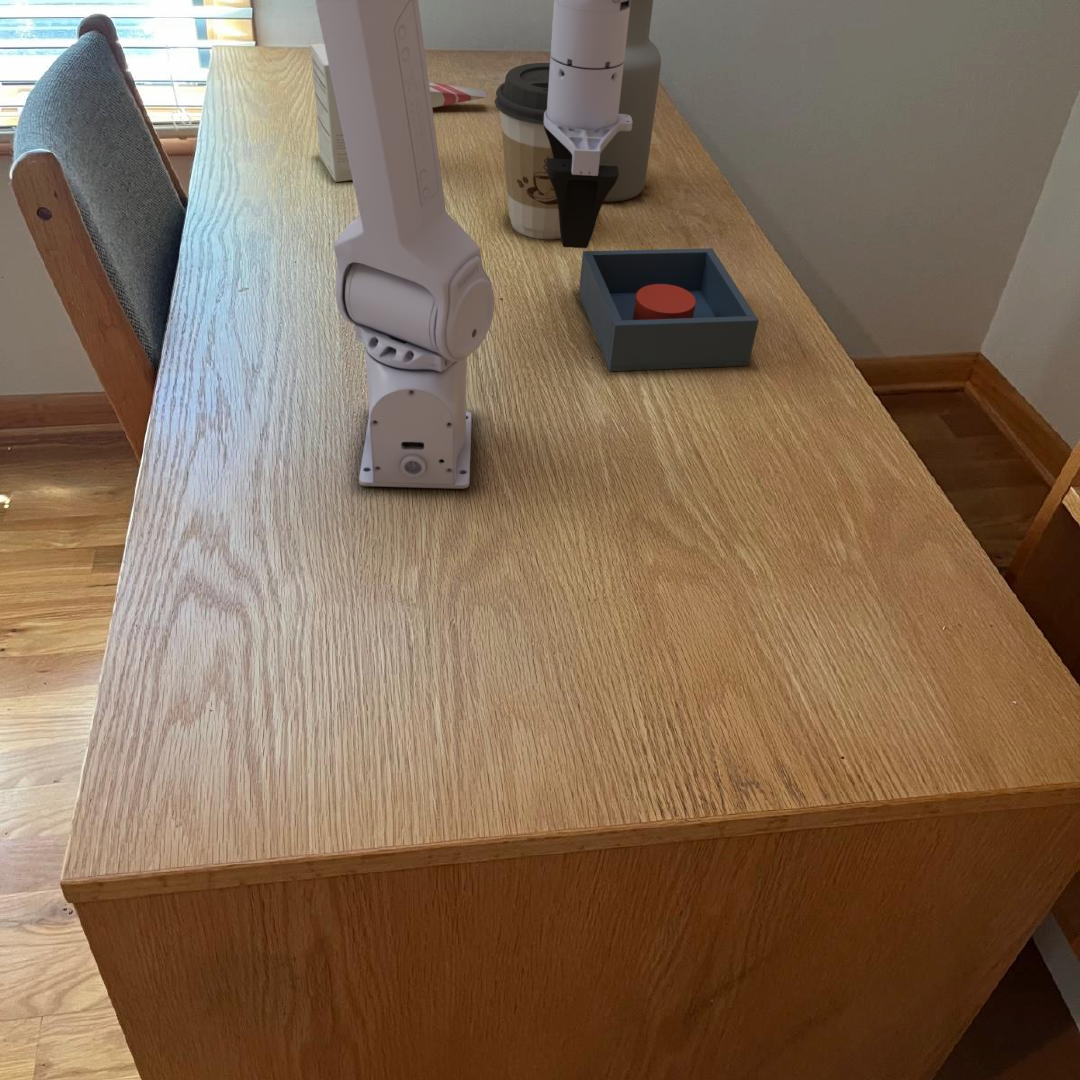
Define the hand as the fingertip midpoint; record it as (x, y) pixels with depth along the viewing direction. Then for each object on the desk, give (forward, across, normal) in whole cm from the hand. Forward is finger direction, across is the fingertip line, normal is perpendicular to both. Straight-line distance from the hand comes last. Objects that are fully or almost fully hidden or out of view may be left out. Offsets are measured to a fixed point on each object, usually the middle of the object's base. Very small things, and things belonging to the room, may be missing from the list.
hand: (572, 225), depth 88 cm
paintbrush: (+8, +54, +18) cm, 57 cm away
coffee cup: (+9, +20, +1) cm, 23 cm away
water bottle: (+9, +32, -6) cm, 33 cm away
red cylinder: (+9, 0, -9) cm, 13 cm away
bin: (+9, 0, -9) cm, 13 cm away
